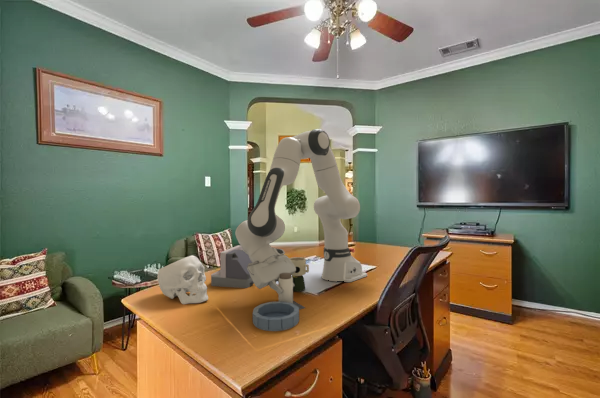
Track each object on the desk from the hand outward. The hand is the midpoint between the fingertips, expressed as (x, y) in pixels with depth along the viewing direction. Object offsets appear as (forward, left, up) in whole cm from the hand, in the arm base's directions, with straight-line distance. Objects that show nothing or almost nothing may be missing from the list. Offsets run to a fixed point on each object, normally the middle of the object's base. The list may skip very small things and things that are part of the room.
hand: (287, 290), depth 98 cm
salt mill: (0, -1, -6) cm, 6 cm away
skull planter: (+28, -31, -6) cm, 42 cm away
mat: (0, -1, -6) cm, 6 cm away
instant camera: (+3, -41, -7) cm, 41 cm away
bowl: (+8, +7, -6) cm, 13 cm away
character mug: (-13, -14, -6) cm, 20 cm away
